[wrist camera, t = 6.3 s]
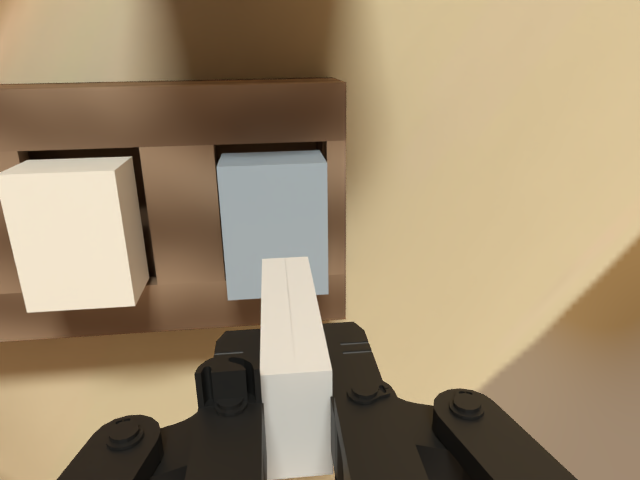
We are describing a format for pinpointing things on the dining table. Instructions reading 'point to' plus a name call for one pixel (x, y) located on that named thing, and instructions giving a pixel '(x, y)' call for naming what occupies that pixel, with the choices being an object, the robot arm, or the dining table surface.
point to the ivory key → (75, 232)
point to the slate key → (272, 215)
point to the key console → (173, 186)
